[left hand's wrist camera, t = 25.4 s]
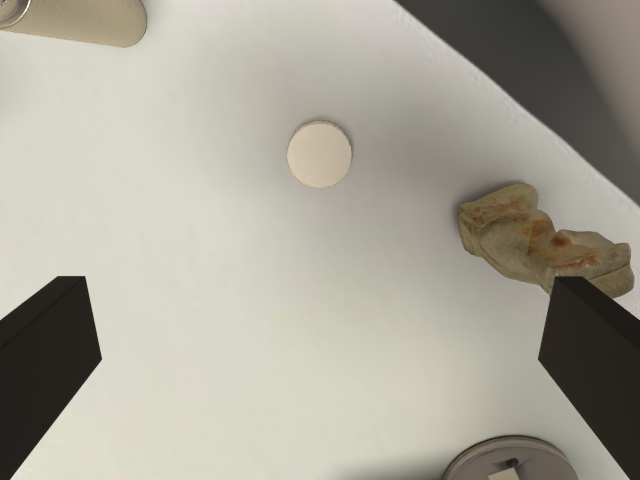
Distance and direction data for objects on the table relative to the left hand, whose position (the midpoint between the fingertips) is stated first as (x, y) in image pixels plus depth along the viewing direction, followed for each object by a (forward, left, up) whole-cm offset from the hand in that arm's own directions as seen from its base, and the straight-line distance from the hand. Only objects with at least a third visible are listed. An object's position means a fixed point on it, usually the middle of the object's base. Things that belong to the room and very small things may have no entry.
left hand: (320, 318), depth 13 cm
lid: (0, 0, -25) cm, 25 cm away
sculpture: (-16, -4, -27) cm, 32 cm away
